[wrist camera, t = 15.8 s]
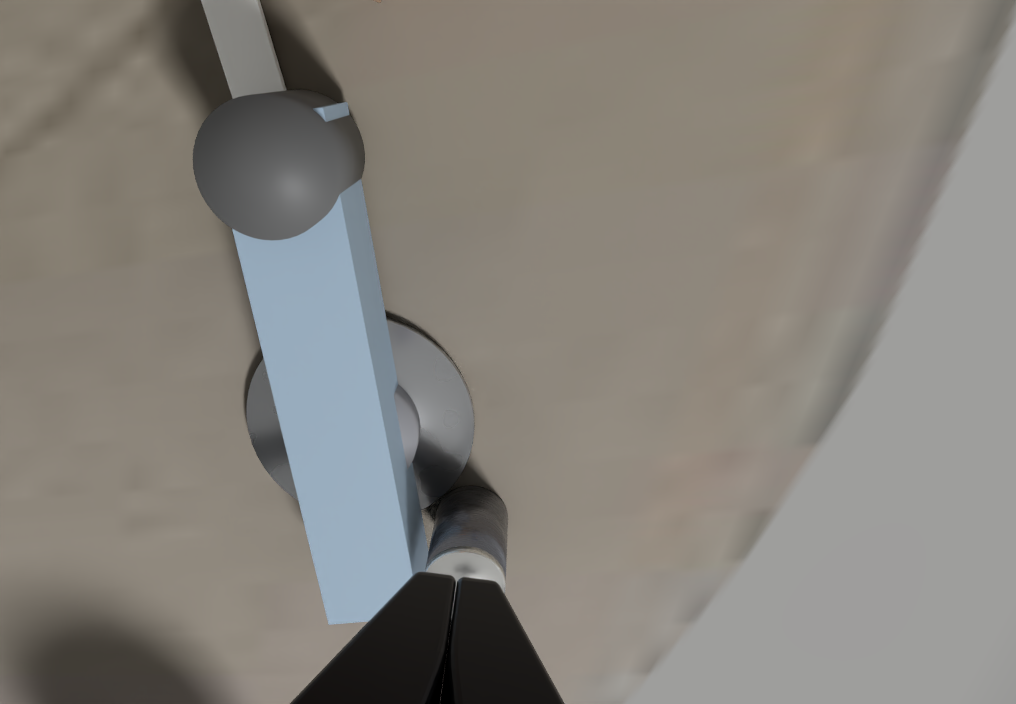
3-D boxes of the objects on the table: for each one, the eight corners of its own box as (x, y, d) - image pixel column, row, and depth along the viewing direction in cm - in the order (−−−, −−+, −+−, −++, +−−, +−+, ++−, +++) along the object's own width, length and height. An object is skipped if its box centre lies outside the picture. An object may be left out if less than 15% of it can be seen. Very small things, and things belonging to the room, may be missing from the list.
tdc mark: (295, 120, 18) (293, 121, 18) (246, 132, 18) (243, 132, 18) (254, -19, 17) (250, -20, 17) (202, -6, 17) (199, -7, 17)
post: (483, 559, 22) (476, 634, 19) (422, 525, 22) (407, 597, 19) (521, 508, 21) (521, 578, 18) (460, 473, 21) (450, 539, 18)
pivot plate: (403, 552, 22) (401, 557, 22) (212, 448, 21) (208, 452, 21) (517, 391, 20) (518, 394, 20) (314, 268, 19) (312, 270, 19)
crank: (444, 563, 22) (433, 634, 19) (333, 572, 22) (305, 644, 19) (361, 81, 17) (330, 84, 14) (222, 98, 17) (165, 105, 15)
